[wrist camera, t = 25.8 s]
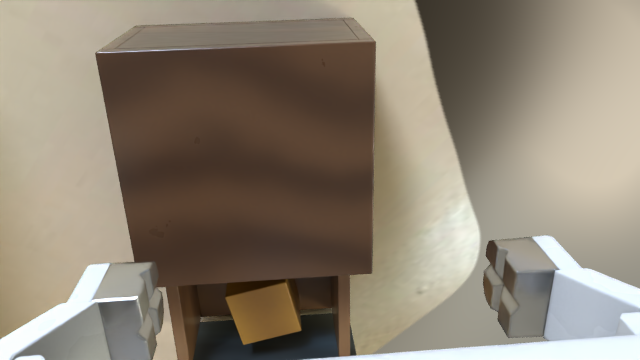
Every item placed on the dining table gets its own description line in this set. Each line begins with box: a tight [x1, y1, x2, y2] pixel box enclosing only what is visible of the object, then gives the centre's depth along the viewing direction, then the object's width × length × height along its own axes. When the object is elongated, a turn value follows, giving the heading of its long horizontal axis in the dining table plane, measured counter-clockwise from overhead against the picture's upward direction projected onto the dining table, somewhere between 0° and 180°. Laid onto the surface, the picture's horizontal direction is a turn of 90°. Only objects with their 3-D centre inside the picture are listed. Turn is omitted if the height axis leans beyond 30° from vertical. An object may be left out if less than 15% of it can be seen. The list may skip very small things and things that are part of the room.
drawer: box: [166, 275, 356, 360], centre depth 42 cm, size 20×13×7 cm
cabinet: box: [95, 18, 376, 287], centre depth 36 cm, size 15×15×9 cm
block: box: [225, 279, 301, 345], centre depth 41 cm, size 4×4×4 cm
